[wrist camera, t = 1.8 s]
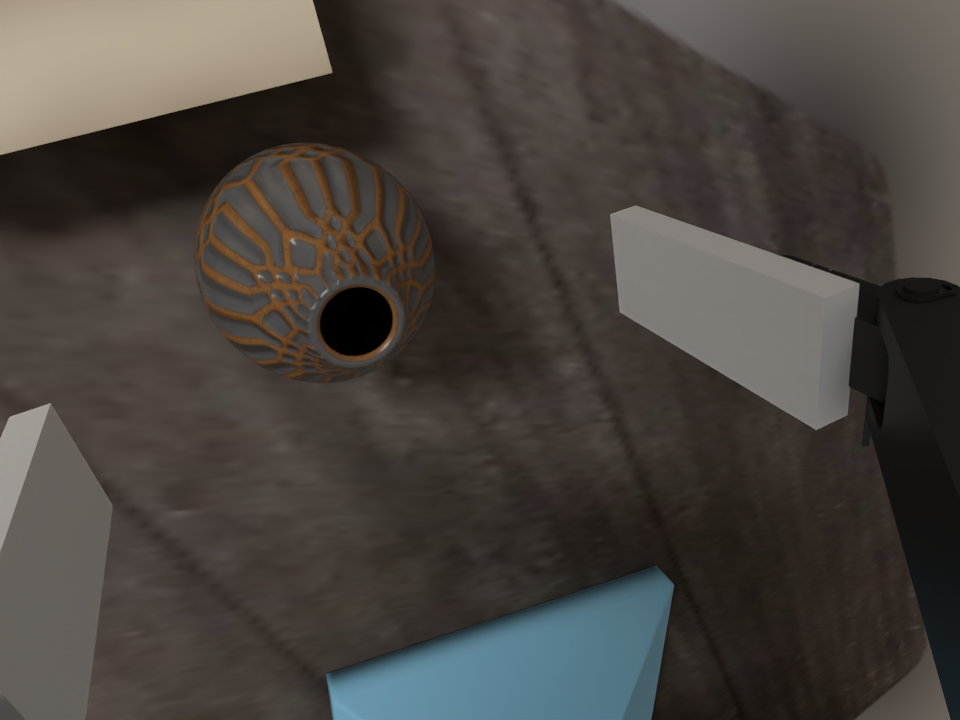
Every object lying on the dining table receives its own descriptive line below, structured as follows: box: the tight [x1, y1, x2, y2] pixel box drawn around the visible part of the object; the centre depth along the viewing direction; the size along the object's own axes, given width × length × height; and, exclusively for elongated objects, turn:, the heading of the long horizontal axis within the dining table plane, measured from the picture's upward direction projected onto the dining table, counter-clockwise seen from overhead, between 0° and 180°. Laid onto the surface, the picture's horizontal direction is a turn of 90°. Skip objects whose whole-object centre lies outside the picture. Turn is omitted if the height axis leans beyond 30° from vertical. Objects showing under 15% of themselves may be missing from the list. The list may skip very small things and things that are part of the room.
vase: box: [195, 142, 435, 383], centre depth 20 cm, size 7×7×9 cm
